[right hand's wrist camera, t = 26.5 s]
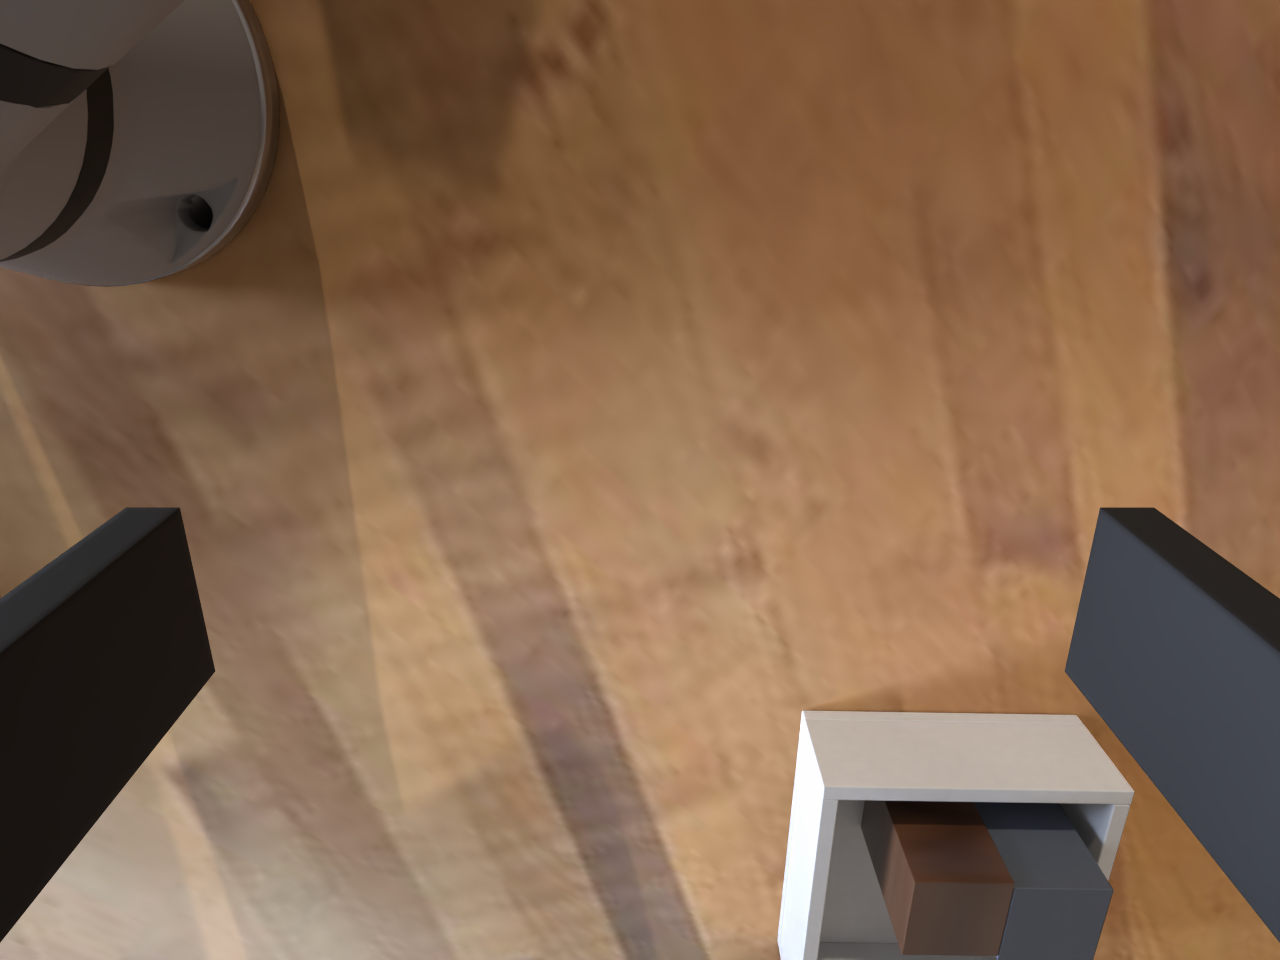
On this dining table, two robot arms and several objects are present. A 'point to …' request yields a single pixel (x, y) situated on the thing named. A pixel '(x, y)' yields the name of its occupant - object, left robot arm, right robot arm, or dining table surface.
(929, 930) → the walnut block
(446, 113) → the dining table surface
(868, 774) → the grey tray
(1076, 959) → the slate block
